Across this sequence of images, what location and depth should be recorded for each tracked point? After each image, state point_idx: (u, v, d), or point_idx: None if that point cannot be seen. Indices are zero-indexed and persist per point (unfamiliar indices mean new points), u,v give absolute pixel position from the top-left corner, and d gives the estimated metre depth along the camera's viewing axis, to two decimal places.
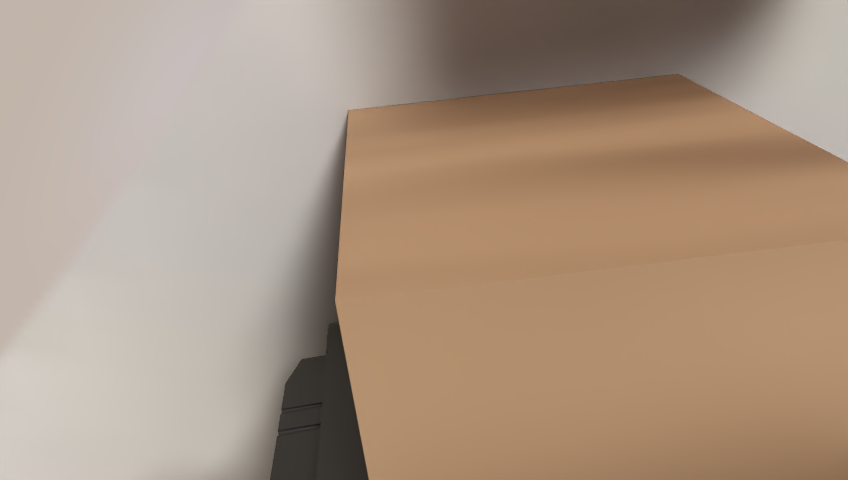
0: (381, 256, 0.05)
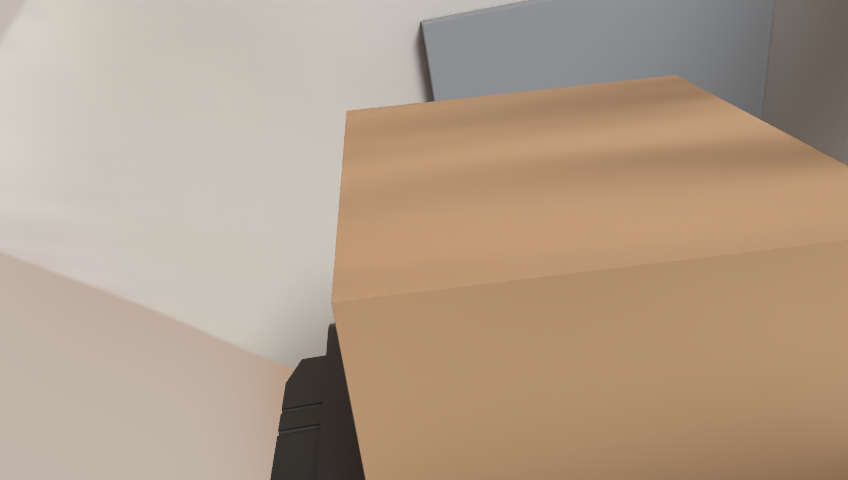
0: (378, 256, 0.05)
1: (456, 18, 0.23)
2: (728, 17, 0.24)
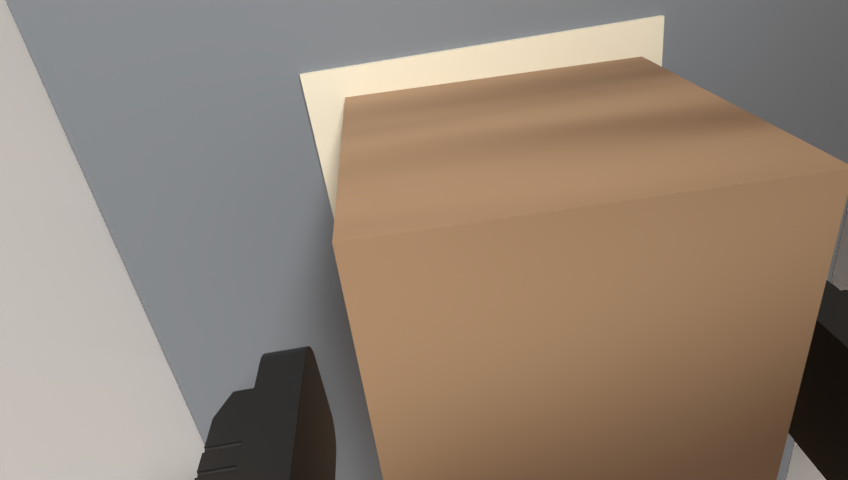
0: (370, 208, 0.06)
1: None
2: None
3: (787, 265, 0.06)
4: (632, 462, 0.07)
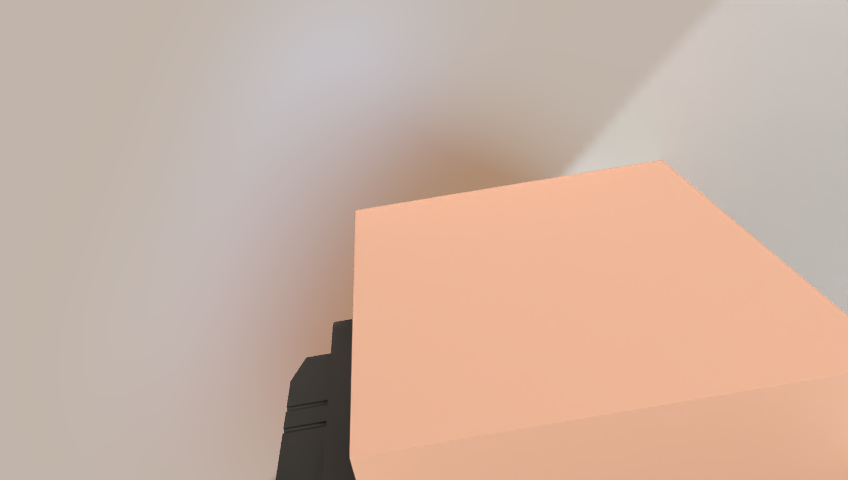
0: None
1: None
2: None
3: None
4: None
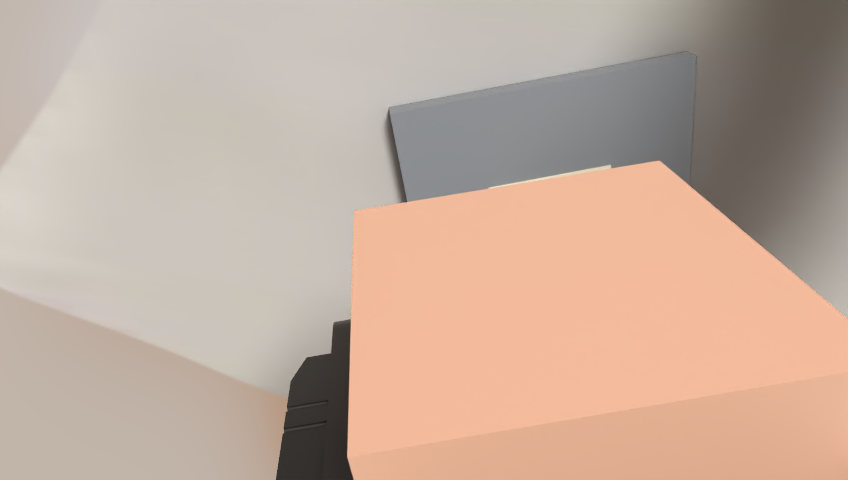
0: None
1: (418, 107, 0.27)
2: (654, 104, 0.28)
3: None
4: None
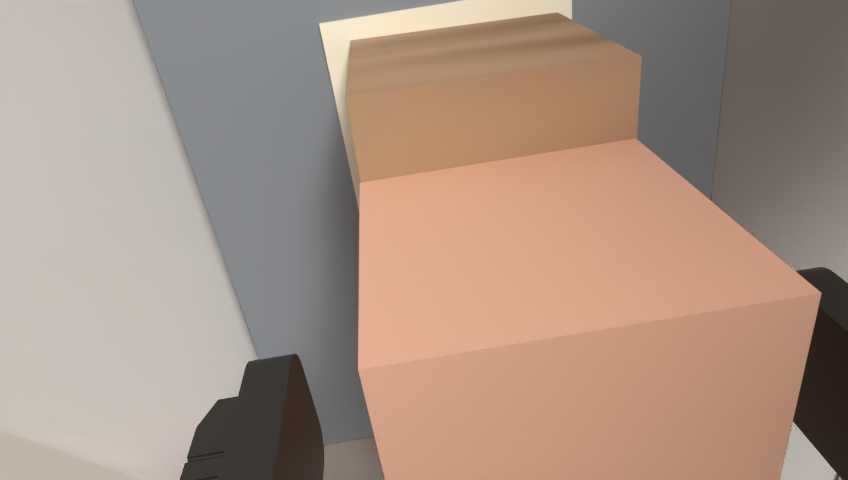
0: (367, 84, 0.11)
1: None
2: None
3: (612, 118, 0.11)
4: None
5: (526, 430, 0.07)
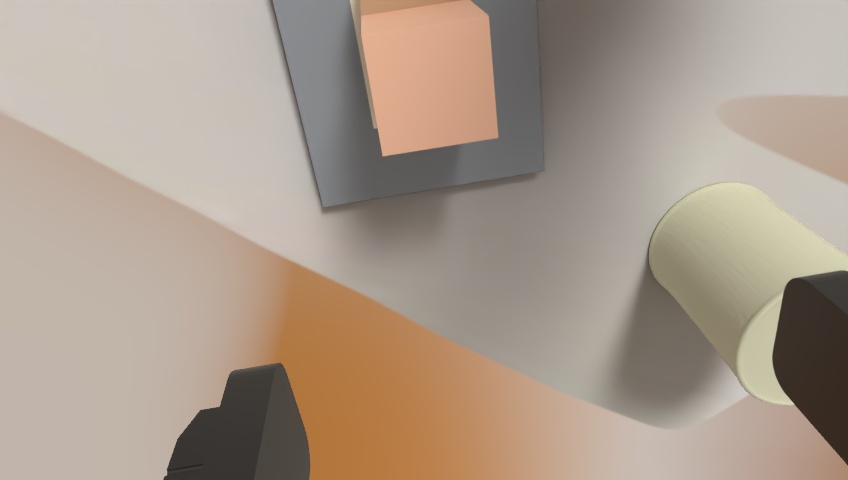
0: None
1: None
2: None
3: None
4: None
5: (410, 62, 0.24)
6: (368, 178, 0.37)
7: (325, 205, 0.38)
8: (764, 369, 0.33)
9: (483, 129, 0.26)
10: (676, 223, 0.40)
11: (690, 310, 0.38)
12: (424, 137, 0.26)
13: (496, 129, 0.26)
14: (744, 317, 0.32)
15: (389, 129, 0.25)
